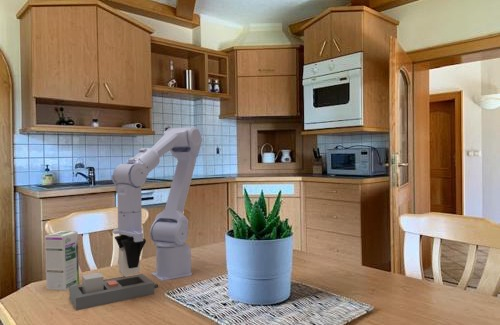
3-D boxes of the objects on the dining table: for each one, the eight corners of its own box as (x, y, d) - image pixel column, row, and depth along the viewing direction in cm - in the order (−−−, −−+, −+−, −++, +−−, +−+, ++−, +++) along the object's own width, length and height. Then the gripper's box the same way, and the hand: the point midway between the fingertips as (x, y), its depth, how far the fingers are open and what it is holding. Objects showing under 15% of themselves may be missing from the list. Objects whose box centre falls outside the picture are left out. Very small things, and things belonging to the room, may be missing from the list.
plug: (134, 269, 100) (134, 244, 100) (139, 273, 97) (139, 247, 96) (119, 272, 98) (118, 246, 98) (123, 276, 94) (122, 249, 94)
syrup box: (65, 291, 99) (64, 235, 99) (45, 290, 100) (44, 234, 100) (79, 284, 105) (78, 230, 104) (60, 283, 106) (59, 230, 106)
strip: (151, 283, 105) (151, 261, 105) (163, 292, 98) (163, 269, 97) (69, 299, 94) (69, 274, 94) (76, 311, 86) (75, 284, 86)
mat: (125, 277, 110) (125, 276, 110) (133, 284, 104) (133, 283, 104) (95, 282, 106) (95, 281, 106) (102, 290, 99) (102, 289, 99)
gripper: (106, 209, 101) (106, 261, 101) (121, 216, 89) (122, 275, 89) (133, 207, 105) (133, 257, 105) (151, 213, 93) (152, 270, 93)
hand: (130, 265), depth 97 cm, fingers closed on plug, 4 cm apart
